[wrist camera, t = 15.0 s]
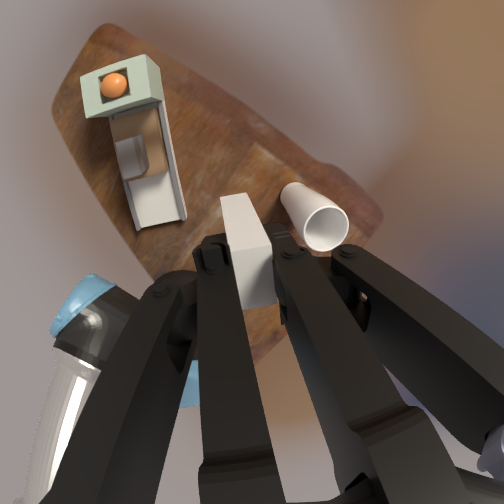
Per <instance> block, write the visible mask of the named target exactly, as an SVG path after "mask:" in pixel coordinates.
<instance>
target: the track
mask: <svg viewBox="0 0 504 504" xmlns="http://www.w3.org/2000/svg"><path fill="white" fill-rule="evenodd" d="M151 108H158V114H159V119H160V125H161V130H162V136H163V141H164V146H165V151H166V156H167V161H168V165H169V169H168V171H167V172H165V173H161V174H157V175H153V176H148V177H145V178H141V179H137V180H133V181H129V182H126V183H123V185H124V189H125V192H126V196H127V200H128V203H129V207H130V210H131V213H132V217H133V220H134V223H135V227H136V230H137V231H139V230H140V229H141V228H143V227H147V226H152V225H156V224H161V223H165V222H170V221H175V220H179V219H182V221H185V220H186V218H187V211H186V207H185V203H184V198H183V194H182V189H181V185H180V180H179V175H178V170H177V166H176V161H175V156H174V151H173V145H172V140H171V135H170V129H169V124H168V118H167V113H166V107H165V101H158V102H156V103H152V104H149V105H145V106H141V107H138V108H134V109H131V110H128V111H125V112H121V113H118V114H115V115H110V116H108V118H109V123H110V121H111V120H114V119H117V118H120V117H123V116H126V115H130V114H133V113H137V112H140V111H144V110H147V109H151ZM110 128H111V125H110ZM111 133H112V131H111ZM112 138H113V136H112ZM113 143H114V140H113ZM114 147H115V145H114ZM115 152H116V150H115ZM116 156H117V154H116ZM117 161H118V158H117ZM118 165H119V163H118ZM119 169H120V167H119ZM120 173H121V171H120ZM121 177H122V175H121ZM122 181H123V179H122Z"/></svg>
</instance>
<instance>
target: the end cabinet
mask: <svg viewBox="0 0 504 504" xmlns="http://www.w3.org/2000/svg"><path fill="white" fill-rule="evenodd" d="M112 73H118V74H120V75H123V76H125V77H126V78H127V79H128V81H129V89H128V91H127V93H126V94H125V95H124V96H122V97H120V98H110V97H106V96H104V95H103V94H102V92H101V83H102V81H103V79H104V78H105V77H106V76H107V75H109V74H112ZM80 81H81V89H82V96H83V103H84V109H85V115H86V118H94V117H107V116H110V115H115V114H118V113H121V112H125V111H128V110H131V109H134V108H138V107H141V106H145V105H149V104H152V103H156V102H158V101H164V94H163V88H162V82H161V75H160V68H159V67H158V66H157V65H156V64H155V63H154V62H153V61H152V60H151V59H150V58H149V57H148V56H147V55H146V54H143V55H140V56H136V57H133V58H130V59H127V60H124V61H121V62H118V63H115V64H112V65H109V66H106V67H104V68H101V69H98V70H96V71H93V72H91V73H88V74H86V75H84V76H81V77H80Z"/></svg>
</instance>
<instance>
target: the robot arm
mask: <svg viewBox="0 0 504 504" xmlns="http://www.w3.org/2000/svg"><path fill="white" fill-rule="evenodd" d="M220 200H221V206H222V212H223V218H224V224H225V230H226V233H221V234H216V235H211V236H206V237H205V238H204V239H203V241H202V242H201V244H200V245H198V246H197V247H196V248H195V249H194V250H193V252H192V254H193V258H194V262H195V265H196V269H197V272H193V271H187V270H179V271H173V272H169V273H167V274H164V275H163V276H161V277H160V278H158V279H157V280H156V281H155V282H154V284H152V285H151V286H149V287H148V288H147V290H146V291H145V292H144V294H143V296H142V297H141V299H140V300H138V299H137V298H136V297H134V296H132V295H131V294H129V293H127V292H125V291H124V290H122V289H121V288H119V287H118V286H117V284H115V283H111V282H109V281H107V280H105V279H103V278H102V277H100V276H98V275H96V274H89V275H87V276H85V277H84V278H83V279H82V280H81V281H80V282H79V283H78V284H77V286H76V287H75V288H74V290H73V291H72V292H71V294H70V295H69V296H68V298H67V299H66V301H65V302H64V304H63V305H62V307H61V309H60V310H59V312H58V315H57V316H56V318H55V319H54V321H53V323H52V325H51V327H50V333H51V335H52V336H53V338H56V341H55V343H54V345H53V348H52V351H53V354H54V357H55V359H56V363H57V366H56V369H55V372H54V375H53V377H52V380H51V383H50V386H49V389H48V392H47V395H46V398H45V401H44V404H43V407H42V411H41V414H40V418H39V422H38V425H37V429H36V433H35V437H34V441H33V445H32V450H31V455H30V459H29V465H28V470H27V476H26V484H25V491H24V497H22V498H17V499H15V501H14V503H13V504H154V503H155V499H156V495H157V491H158V487H159V483H160V479H161V474H162V470H163V466H164V462H165V458H166V455H167V450H168V447H169V443H170V439H171V435H172V432H173V428H174V424H175V420H176V417H177V413H178V409H179V408H184V407H190V406H195V405H199V404H200V415H201V430H202V442H203V457H204V459H203V463H202V464H201V466H200V467H199V472H198V485H199V495H200V504H504V349H503V348H502V347H501V346H499V345H498V344H497V343H496V342H495V341H493V340H492V339H491V338H490V337H488V336H487V335H486V334H484V333H483V332H482V331H481V330H479V329H478V328H477V327H476V326H474V325H473V324H472V323H470V322H469V321H468V320H467V319H465V318H464V317H463V316H461V315H460V314H459V313H457V312H456V311H454V310H453V309H452V308H450V307H449V306H448V305H446V304H445V303H444V302H442V301H440V300H439V299H438V298H437V297H435V296H434V295H432V294H431V293H429V292H428V291H427V290H425V289H424V288H422V287H421V286H419V285H418V284H416V283H415V282H413V281H412V280H410V279H409V278H408V277H406V276H405V275H403V274H402V273H400V272H399V271H397V270H396V269H394V268H393V267H391V266H390V265H388V264H386V263H385V262H383V261H382V260H380V259H379V258H377V257H376V256H374V255H373V254H371V253H369V252H368V251H366V250H365V249H363V248H361V247H359V246H357V245H352V244H343V245H339V246H337V247H335V248H333V250H332V251H331V257H316V256H312V254H311V253H310V251H309V250H308V249H307V248H305V247H302V246H298V244H297V243H296V241H295V240H294V238H293V237H292V235H291V234H290V232H289V231H288V229H287V228H286V226H285V225H283V224H281V223H279V222H277V223H271V224H266V225H262V224H261V222H260V220H259V218H258V216H257V214H256V212H255V210H254V208H253V206H252V203H251V201H250V199H249V197H248V195H247V193H241V194H235V195H230V196H224V197H220ZM362 292H363V293H364V294H365V295H366V296H367V300H366V299H365V298H363V297H362ZM277 297H278V300H279V306H280V317H281V325H284V324H285V327H286V329H287V332H288V335H289V338H290V341H291V343H292V346H293V349H294V352H295V355H296V357H297V360H298V363H299V366H300V369H301V371H302V374H303V377H304V380H305V383H306V386H307V388H308V391H309V394H310V397H311V400H312V402H313V405H314V408H315V411H316V413H317V416H318V419H319V422H320V425H321V428H322V431H323V434H324V436H325V439H326V442H327V445H328V448H329V451H330V454H331V457H332V460H333V464H334V473H335V478H336V482H337V485H338V488H339V491H340V494H341V495H339V496H337V497H335V498H334V499H331V500H329V501H320V502H304V503H303V502H302V503H286V500H285V496H284V493H283V488H282V485H281V481H280V476H279V472H278V468H277V464H276V460H275V456H274V452H273V448H272V444H271V439H270V435H269V431H268V427H267V422H266V418H265V414H264V409H263V405H262V401H261V396H260V392H259V387H258V383H257V378H256V374H255V369H254V364H253V360H252V355H251V350H250V346H249V341H248V336H247V331H246V327H245V322H244V317H243V312H242V310H247V309H252V308H257V307H262V306H267V305H272V304H277ZM382 364H383V365H384V366H385V367H386V368H387V369H388V370H389V371H390V372H391V373H392V374H393V375H394V376H395V377H396V378H397V379H398V380H399V381H400V382H401V383H402V384H403V385H404V386H405V387H406V388H407V389H408V390H409V391H410V392H411V393H412V394H413V395H414V396H415V397H416V398H417V399H418V400H419V401H420V402H421V403H422V404H423V405H424V406H425V407H426V408H427V410H428V411H429V412H430V413H431V414H432V415H434V417H435V418H436V419H437V420H438V421H439V422H440V423H441V424H442V425H443V426H444V427H445V428H446V429H447V430H448V431H449V432H450V433H451V434H452V435H453V436H454V437H455V438H456V439H457V440H458V441H459V442H460V443H462V444H463V445H465V446H466V447H467V448H469V449H470V450H472V451H474V452H476V453H478V454H480V455H481V456H480V457H479V459H478V462H477V468H478V469H479V471H481V472H485V471H488V472H489V473H490V474H491V475H492V476H493V477H494V479H493V478H489V477H486V476H483V475H479V474H476V473H473V472H470V471H467V470H464V469H461V468H458V467H456V466H454V464H453V461H452V460H451V458H450V456H449V454H448V452H447V450H446V448H445V446H444V444H443V442H442V440H441V439H440V437H439V435H438V433H437V431H436V430H435V428H434V426H433V424H432V422H431V421H430V419H429V417H428V416H427V414H426V413H425V412H424V411H423V410H422V409H421V408H419V407H417V406H408V405H407V404H406V403H405V402H404V401H403V399H402V397H401V396H400V394H399V392H398V390H397V389H396V387H395V385H394V383H393V382H392V380H391V378H390V376H389V375H388V373H387V371H386V370H385V368H384V366H383V365H382Z"/></svg>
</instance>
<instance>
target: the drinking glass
mask: <svg viewBox="0 0 504 504" xmlns="http://www.w3.org/2000/svg"><path fill="white" fill-rule="evenodd" d="M280 199H281V203H282V205H283V207H284V208H285V209H286V211H287V213H288V215H289V217H290V219H291V221H292V223H293V225H294V227H295V229H296V231H297V232H298V234H299V235H300V237H301V238H302V239H303V241H304V242H305V243H306V244H307V245H308V246H309V247H310V248H311V249H313V250H315V251H320V252H324V251H329V250H332V249H333V248H335V247H337V246H338V245H340V244H341V243H342V241H343V240H344V239H345V237H346V235H347V232H348V228H349V222H348V218H347V216H346V214H345V212H344V211H343V210H342V209H341V208H340V207H339V206H337V205H336V204H335V203H334V202H333V201H331V200H330V199H328V198H327V197H325V196H323V195H321V194H319V193H317V192H315V191H313V190H311V189H310V188H308V187H306V186H305V185H303V184H301V183H298V182H294V183H290V184H288V185H287V186H285V187H284V189H283V190H282V192H281V196H280Z"/></svg>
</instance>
